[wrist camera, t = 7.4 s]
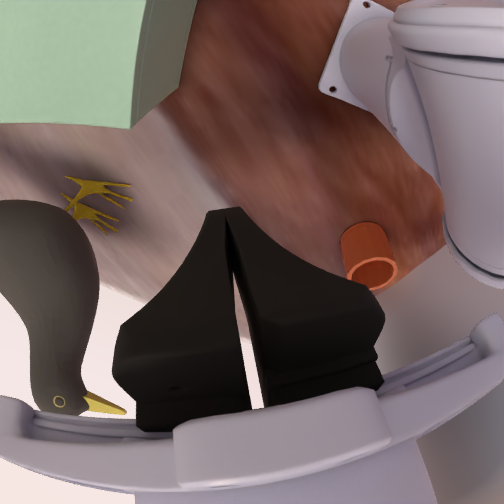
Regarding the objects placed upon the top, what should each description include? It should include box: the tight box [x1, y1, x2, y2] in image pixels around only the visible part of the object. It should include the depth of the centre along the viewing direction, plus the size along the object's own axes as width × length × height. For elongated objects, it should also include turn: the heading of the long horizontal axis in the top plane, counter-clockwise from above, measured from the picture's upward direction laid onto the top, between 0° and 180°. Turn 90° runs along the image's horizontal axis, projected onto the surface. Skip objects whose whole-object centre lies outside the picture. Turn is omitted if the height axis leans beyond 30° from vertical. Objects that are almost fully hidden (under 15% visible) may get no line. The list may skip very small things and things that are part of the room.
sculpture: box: [0, 176, 133, 416], centre depth 16 cm, size 9×25×20 cm, turn 52°
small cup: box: [340, 222, 398, 291], centre depth 25 cm, size 5×5×4 cm
